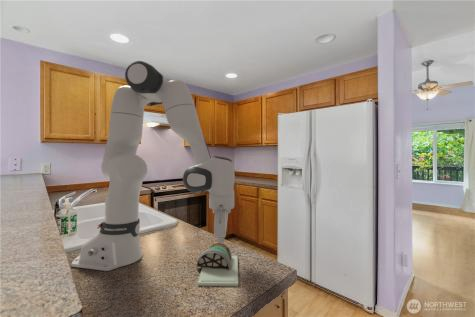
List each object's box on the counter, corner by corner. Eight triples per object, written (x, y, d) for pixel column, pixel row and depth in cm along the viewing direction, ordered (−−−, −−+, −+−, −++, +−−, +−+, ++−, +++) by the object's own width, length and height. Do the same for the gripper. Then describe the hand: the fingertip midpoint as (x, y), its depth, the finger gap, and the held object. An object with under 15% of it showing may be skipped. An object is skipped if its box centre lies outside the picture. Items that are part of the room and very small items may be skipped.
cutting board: (197, 285, 66) (197, 282, 66) (205, 257, 85) (206, 254, 85) (238, 286, 66) (238, 283, 66) (237, 257, 85) (237, 255, 85)
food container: (235, 241, 84) (231, 252, 74) (235, 257, 84) (230, 270, 74) (203, 238, 85) (195, 249, 75) (203, 255, 85) (194, 267, 75)
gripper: (230, 209, 68) (229, 254, 68) (231, 197, 89) (230, 232, 89) (209, 209, 68) (208, 254, 68) (215, 197, 89) (214, 232, 89)
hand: (221, 241), depth 79 cm, fingers closed
